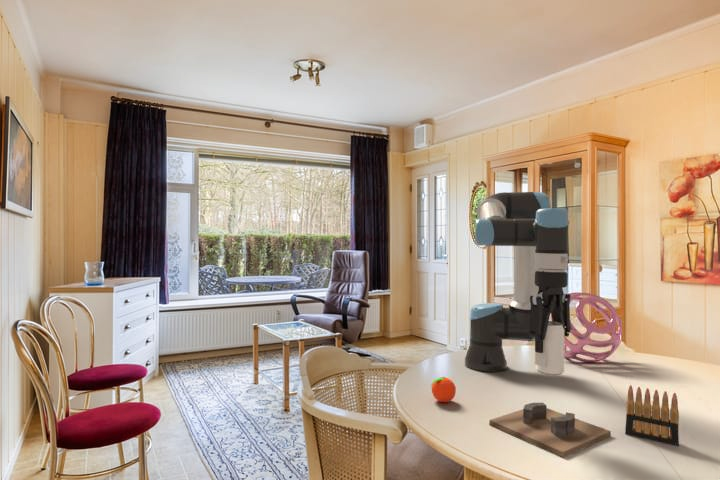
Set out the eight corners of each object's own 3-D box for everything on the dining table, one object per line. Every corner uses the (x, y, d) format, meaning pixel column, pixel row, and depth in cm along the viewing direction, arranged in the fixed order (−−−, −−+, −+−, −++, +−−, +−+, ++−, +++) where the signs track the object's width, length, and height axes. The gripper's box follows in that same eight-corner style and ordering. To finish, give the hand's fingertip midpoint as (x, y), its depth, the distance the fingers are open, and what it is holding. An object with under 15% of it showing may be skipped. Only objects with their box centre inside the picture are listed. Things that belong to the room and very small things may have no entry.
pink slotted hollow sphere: (537, 302, 199) (562, 272, 177) (601, 319, 195) (635, 291, 173) (532, 360, 184) (559, 335, 161) (601, 380, 180) (639, 358, 158)
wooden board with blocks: (489, 424, 112) (489, 406, 112) (537, 408, 123) (537, 392, 123) (563, 457, 96) (563, 435, 96) (610, 435, 107) (610, 416, 107)
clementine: (436, 408, 123) (437, 382, 123) (423, 399, 129) (424, 375, 129) (460, 404, 126) (461, 379, 126) (446, 396, 132) (447, 372, 132)
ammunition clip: (625, 434, 108) (625, 385, 108) (625, 431, 109) (626, 383, 109) (679, 446, 102) (679, 394, 102) (678, 443, 103) (679, 392, 103)
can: (551, 376, 105) (552, 326, 105) (529, 369, 111) (530, 321, 111) (569, 373, 108) (570, 324, 108) (547, 366, 114) (548, 319, 114)
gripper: (541, 272, 101) (539, 373, 101) (587, 270, 112) (585, 361, 112) (513, 270, 107) (511, 365, 107) (559, 269, 118) (558, 355, 118)
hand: (549, 363), depth 109 cm, fingers closed on can, 6 cm apart
